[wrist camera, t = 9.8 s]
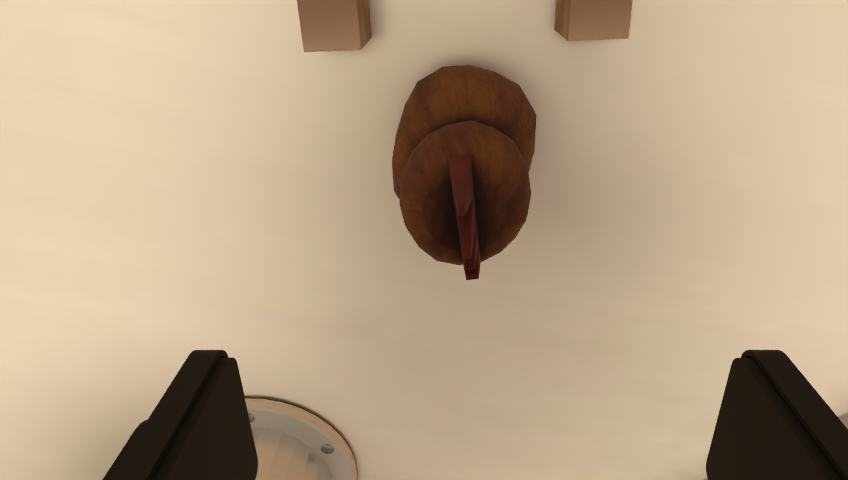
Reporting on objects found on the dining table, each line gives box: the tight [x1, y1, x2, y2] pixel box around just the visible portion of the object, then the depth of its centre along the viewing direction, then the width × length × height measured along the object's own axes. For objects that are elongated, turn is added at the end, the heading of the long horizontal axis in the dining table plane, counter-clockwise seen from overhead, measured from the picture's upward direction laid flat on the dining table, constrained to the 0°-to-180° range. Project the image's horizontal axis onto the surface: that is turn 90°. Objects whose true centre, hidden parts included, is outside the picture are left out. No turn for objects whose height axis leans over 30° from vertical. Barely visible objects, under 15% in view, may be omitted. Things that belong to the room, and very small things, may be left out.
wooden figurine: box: [392, 65, 536, 280], centre depth 22 cm, size 7×6×15 cm
